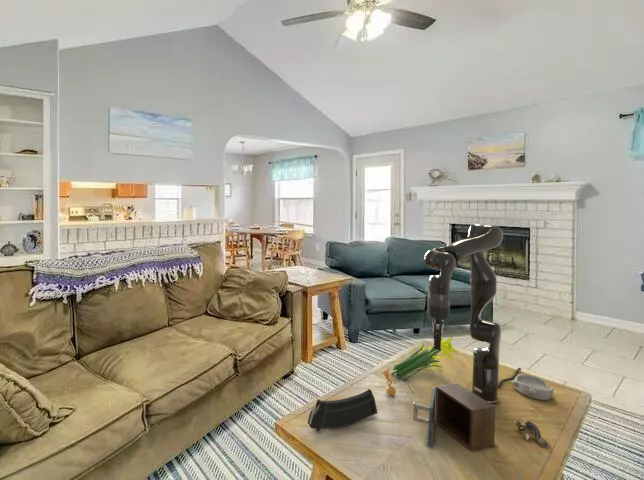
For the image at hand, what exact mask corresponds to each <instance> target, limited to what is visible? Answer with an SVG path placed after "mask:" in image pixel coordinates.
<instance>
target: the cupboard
mask: <svg viewBox="0 0 644 480" xmlns="http://www.w3.org/2000/svg"><path fill="white" fill-rule="evenodd" d="M435 387H436V398H435V424H436V425H438V426H439V427H440V428H441V429H443V430H444V431H446V432H447V433H448V434H450V436H452V437H454V439H456V440H457V441H458V442H460V443H461V444H462V445H464V446H465V447H466V448H468V450H470V451H477V450H480V449H486V448H490V447H494V446H495V436H496V435H495V434H496V433H495V432H496V409H497V408H496V407H497V406H496V405H494V404H493V403H489V402H487V401H486V400H484V399H482V398H481V397H479V396H477V395H476V394H474V393H472V390H470V389H467V388H466V387H464V386H463V385H460V384H459V383H458V382H457V383H450V384H443V385H438V386H437V385H436V386H435Z"/></svg>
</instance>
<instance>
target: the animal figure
mask: <svg viewBox="0 0 644 480" xmlns="http://www.w3.org/2000/svg"><path fill="white" fill-rule="evenodd" d="M522 420H523V422H524V424H522V422H521V421H520V420H516V421H515V422H514V421H511V422H512V425H514V426H515V427H516V428H517V429H518V432H519V433H521V432H524V435H525V441H528V440H529V438H530V436H532V437H533V438H535V440H536V441H537V442H538V444H539V445H540V446H541V447H543V448H548V446H549V445H548V442H547V441H546V440H545V439H544V437H543V436H542V435H541V431H540V430H539V427H538V426H537V425H536V424H535V423H533V422H531V421H529V420H528V421H526V419H525V418H522Z"/></svg>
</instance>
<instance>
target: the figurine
mask: <svg viewBox="0 0 644 480" xmlns="http://www.w3.org/2000/svg"><path fill="white" fill-rule="evenodd" d="M380 372H381V376H384V378H385V379H386V380H387V381H386V384H387V386H386V388H385V393H386V394H387V395H388V396H390V397H394V396H395V395H396V393H397V389H396V388H395V386H393V385H392V384H393V383H394V385H396V384H397V383H396V381H394V379H393V377H392V376H391V374H390V368H386V369H381V370H380Z"/></svg>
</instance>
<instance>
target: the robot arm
mask: <svg viewBox="0 0 644 480" xmlns="http://www.w3.org/2000/svg"><path fill="white" fill-rule="evenodd" d="M467 237H468V238H464V239H459V240H456V241H453V242H452V243H450V244H448V245H446V246H440V247H435V248H433V249H430V250H428V251H427V252H426V253H425V255H424V258H423V262H424V264H425V266H426V267H427V268H429V269H432V270H437V271H440V272H439V274H434V275H430V276H429V278H428V293H427V306H426V307H427V308H426V309H427V310H426V314H427V315H428V316H430V317H433V318H432V319H431V326H432V334H433V338H432V339H433V347H434V349H435V350H437V351H438V350H441V340H442V338H443V337H442V338H441V336H442V335H444V328H445V320H447V319H449V318H450V316H451V315H450V314H451V311H450V310H451V296H450V291H451V290H450V286H451V280H452V277H453V274H454V271H455V268H456V265H457V263H459V262H461V261H462V260H465V259H466V258H468V257H470V259H469V260H470V319H469V336H470V338H471V339H473V340H474V341H478V342H481V343H485V344H488V346H480V347H479V346H478V347H475V348H474V349H473V351H472V378H471V379H472V380H471V383H472V384H471V392H472V393H474V394H476V395H477V396H479V397H481V398H482V399H484V400H486V401H487V402H489V403H491V404H496V403H498V402H499V388H500V387H501V385H502V383H504V382H507V381H510V380H511V381H512V380H513V379H515V377H516V376H518V375H517V374H518V373H519V372H520V371H522V369H521V368H520V367H518V368H517V369H516V371H515V372H514V374H513V376H511V377H508V378H504V379H501V380H500V381H499V373H500V354H501V353H500V352H501V341H502V339H501V338H502V327H501V324H499V323H497V322H495V321H490V320H486V319H482V318H481V316H482V312H483V311H484V309H485V308H486V306H487V305H488V304H489V303H490V302H492V300H493V299H494V298H495V296H496V295H497V293H498V292H497V290H498V289H497V286H498V285H497V283H498V282H497V281H498V279H497V275H496V273H495V272H494V270H493V268H492V267H491V265H490V264H489V262H488V260H487V258H486V257H485V254H484V253H485V252H484V251H487V250H491V249H495V248H498V247H499V246H500V245H501V244H502V242H503V239H504V233H503V230H502V229H501V228H500V227H499V226H497V225H491V224H485V223H484V224H482V223H473V224H471V225H470V227H469V229H468V235H467ZM443 319H444V320H443Z"/></svg>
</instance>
